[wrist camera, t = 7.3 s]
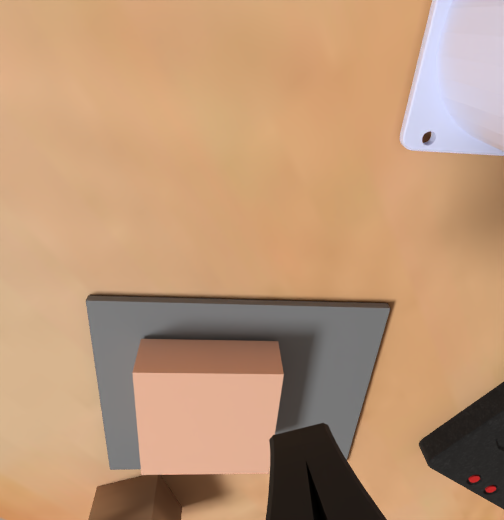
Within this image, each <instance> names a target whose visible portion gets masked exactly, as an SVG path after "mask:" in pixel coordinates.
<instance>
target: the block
mask: <svg viewBox="0 0 504 520" xmlns="http://www.w3.org/2000/svg"><path fill="white" fill-rule="evenodd" d="M132 373H133V385H134V396H135V408H136V419H137V431H138V442H139V454H140V465H141V475H177V474H269V470H270V442H269V439H270V438H271V437H272V436H273V435H275V430H276V423H277V416H278V410H279V403H280V397H281V390H282V383H283V377H284V372H283V367H282V361H281V355H280V349H279V343H278V341H242V340H185V339H141V341H140V345H139V349H138V353H137V357H136V361H135V365H134V369H133V372H132Z"/></svg>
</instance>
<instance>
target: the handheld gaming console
mask: <svg viewBox="0 0 504 520" xmlns="http://www.w3.org/2000/svg"><path fill="white" fill-rule="evenodd" d="M419 446H420V449H421V451H422V453H423V455H424V457H425V460H426V462H427V464H428V466H429V467H430V468H432V469H434V470H435V471H437V472H439V473H441V474H443V475H444V476H446V477H448V478H450V479H451V480H453V481H455V482H457V483H458V484H460V485H462V486H464V487H465V488H467V489H469V490H471V491H472V492H474V493H476V494H478V495H480V496H481V497H483V498H485V499H487V500H488V501H490V502H492V503H494V504H495V505H497V506H499V507H501V508H502V509H504V382H503V383H501V384H500V385H498V386H497V387H496V388H494V389H493V390H491V391H490V392H489V393H487V394H486V395H484V396H483V397H481V398H480V399H479V400H477V401H476V402H474V403H473V404H471V405H470V406H469V407H467V408H466V409H464V410H463V411H461V412H460V413H459V414H457V415H456V416H454V417H453V418H451V419H450V420H449V421H447V422H446V423H444V424H443V425H442V426H440V427H439V428H437V429H436V430H434V431H433V432H432V433H430V434H429V435H427V436H426V437H424V438H423V439H422V440H421V441H420V443H419Z"/></svg>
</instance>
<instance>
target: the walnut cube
mask: <svg viewBox="0 0 504 520" xmlns="http://www.w3.org/2000/svg"><path fill="white" fill-rule="evenodd" d="M181 512H182V507H181V505H180V504H179V502H178V501H177V499H176V498H175V496H174V495H173V493H172V492H171V490H170V489H169V487H168V486H167V484H166V483H165V481H164V480H163V478H162V477H161V475H143V476H139V477H135V478H131V479H127V480H122V481H118V482H114V483H110V484H106V485H102V486H98V487H97V490H96V493H95V497H94V501H93V505H92V508H91V512H90V516H89V520H181Z"/></svg>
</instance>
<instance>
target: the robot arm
mask: <svg viewBox="0 0 504 520" xmlns="http://www.w3.org/2000/svg"><path fill="white" fill-rule="evenodd" d="M429 131H431V138H430V140H428V141H427V142H424V143H423V142H422V137H423V135H424V134H425V133H426V132H429ZM400 142H401V144H402V145H403V146H404V147H405V148H407V149H409V150H412V151H429V152H446V153H463V154H480V155H497V156H504V0H432V4H431V8H430V12H429V16H428V21H427V25H426V29H425V33H424V37H423V41H422V45H421V50H420V54H419V58H418V62H417V66H416V70H415V74H414V79H413V83H412V87H411V91H410V95H409V99H408V103H407V107H406V112H405V116H404V120H403V124H402V128H401V132H400ZM269 442H270V481H269V495H268V505H267V514H266V520H387V519H386V518H385V517H384V515H383V514H382V512H381V511H380V510H379V508H378V507H377V505H376V504H375V502H374V501H373V500H372V498H371V497H370V495H369V494H368V493H367V491H366V490H365V488H364V487H363V485H362V484H361V482H360V481H359V479H358V478H357V476H356V475H355V473H354V471H353V470H352V468H351V467H350V465H349V463H348V462H347V460H346V459H345V457H344V455H343V453H342V452H341V450H340V448H339V446H338V444H337V443H336V441H335V439H334V437H333V435H332V432H331V430H330V428H329V425H327V424H325V423H320V424H316V425H312V426H308V427H304V428H300V429H296V430H292V431H288V432H284V433H280V434H276V435H273V436H272V437H271V438H270V439H269Z"/></svg>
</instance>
